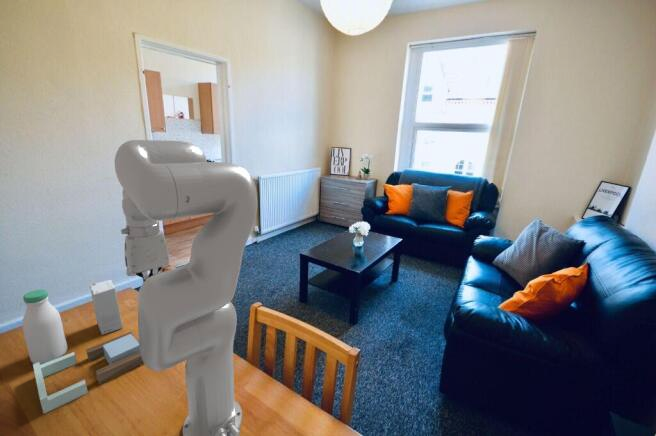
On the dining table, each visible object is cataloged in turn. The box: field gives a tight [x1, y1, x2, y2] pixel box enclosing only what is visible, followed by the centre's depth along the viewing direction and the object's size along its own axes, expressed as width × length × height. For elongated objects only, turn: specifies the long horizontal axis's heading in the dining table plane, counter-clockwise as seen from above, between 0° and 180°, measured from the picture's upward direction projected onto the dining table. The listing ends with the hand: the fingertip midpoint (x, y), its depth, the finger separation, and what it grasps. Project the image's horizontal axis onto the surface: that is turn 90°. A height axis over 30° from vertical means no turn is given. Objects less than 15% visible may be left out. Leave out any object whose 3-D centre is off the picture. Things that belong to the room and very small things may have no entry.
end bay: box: [32, 351, 89, 415], centre depth 74 cm, size 15×8×4 cm, turn 48°
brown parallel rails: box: [85, 331, 145, 385], centre depth 83 cm, size 13×11×3 cm
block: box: [103, 333, 140, 365], centre depth 84 cm, size 7×7×4 cm
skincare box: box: [89, 279, 124, 336], centre depth 95 cm, size 8×6×15 cm
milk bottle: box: [21, 289, 68, 365], centre depth 81 cm, size 8×8×20 cm
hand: (150, 288), depth 86 cm, fingers closed
